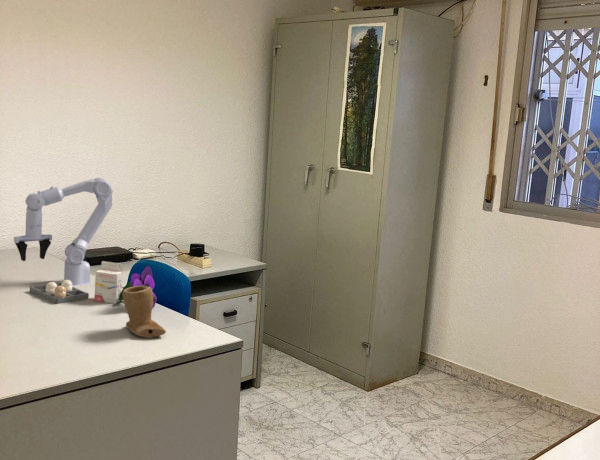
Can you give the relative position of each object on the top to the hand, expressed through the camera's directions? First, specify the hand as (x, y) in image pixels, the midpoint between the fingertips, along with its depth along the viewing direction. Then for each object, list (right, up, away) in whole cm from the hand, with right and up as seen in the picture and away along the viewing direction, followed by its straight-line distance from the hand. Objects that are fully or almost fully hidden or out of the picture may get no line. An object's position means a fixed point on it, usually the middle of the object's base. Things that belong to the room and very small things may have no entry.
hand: (32, 259), depth 252 cm
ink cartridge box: (+32, -16, -11) cm, 37 cm away
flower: (+43, -17, -13) cm, 48 cm away
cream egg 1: (+12, -13, -12) cm, 21 cm away
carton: (+14, -13, -9) cm, 21 cm away
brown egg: (+16, -14, -16) cm, 27 cm away
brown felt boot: (+52, -22, -40) cm, 69 cm away
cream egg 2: (+16, -13, -7) cm, 21 cm away
